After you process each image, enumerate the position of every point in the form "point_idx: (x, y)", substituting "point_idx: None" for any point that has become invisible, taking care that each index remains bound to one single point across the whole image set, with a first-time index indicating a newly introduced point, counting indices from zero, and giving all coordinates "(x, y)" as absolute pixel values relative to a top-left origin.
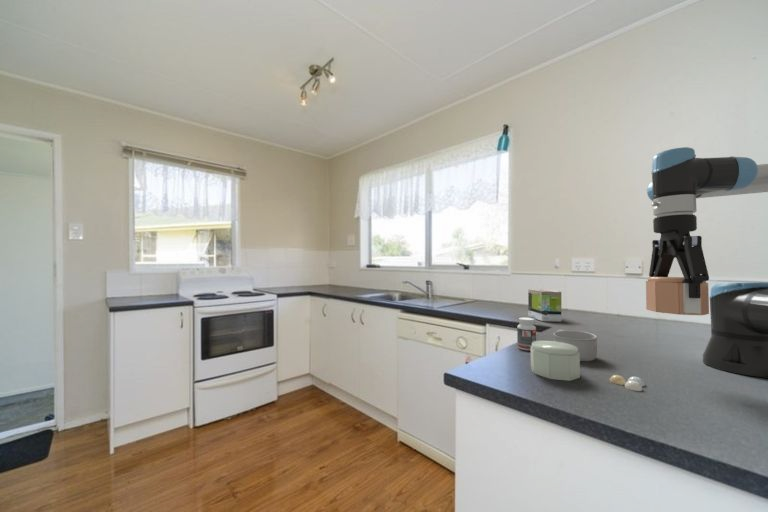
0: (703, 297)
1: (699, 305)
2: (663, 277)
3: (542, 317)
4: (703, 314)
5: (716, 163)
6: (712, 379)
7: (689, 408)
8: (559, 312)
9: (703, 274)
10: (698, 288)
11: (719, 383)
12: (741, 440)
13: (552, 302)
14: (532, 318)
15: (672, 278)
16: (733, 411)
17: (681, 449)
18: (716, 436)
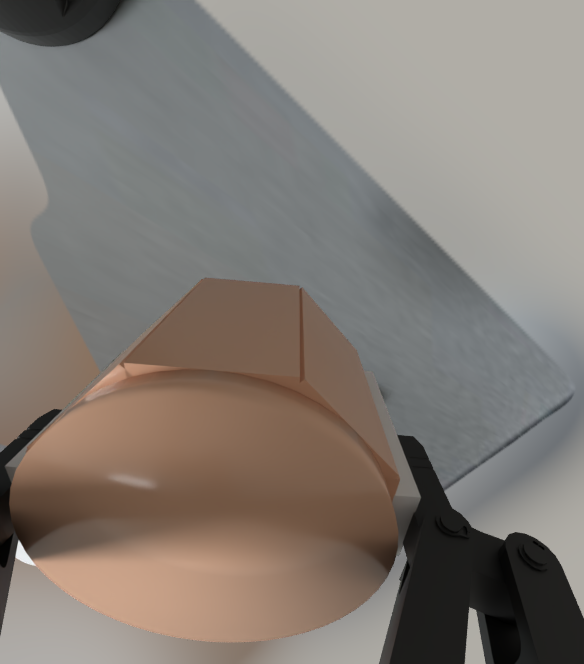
0: (361, 387)
1: (379, 397)
2: (191, 592)
3: None
4: (350, 343)
5: None
6: (208, 156)
7: (404, 344)
8: None
9: (535, 600)
10: (439, 493)
11: (240, 163)
12: (511, 348)
13: None
14: (18, 541)
15: (345, 613)
16: (413, 275)
17: (523, 432)
18: (497, 372)
